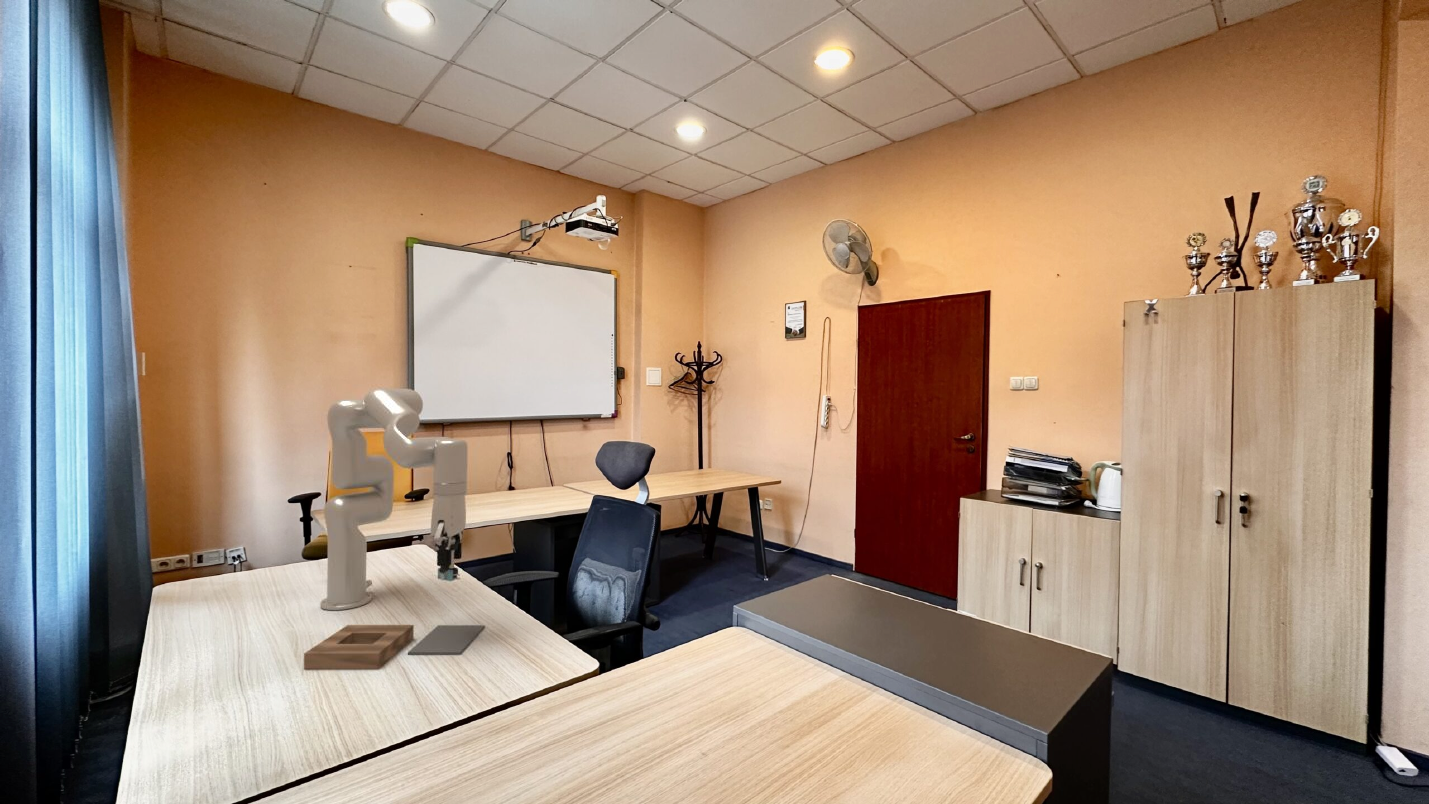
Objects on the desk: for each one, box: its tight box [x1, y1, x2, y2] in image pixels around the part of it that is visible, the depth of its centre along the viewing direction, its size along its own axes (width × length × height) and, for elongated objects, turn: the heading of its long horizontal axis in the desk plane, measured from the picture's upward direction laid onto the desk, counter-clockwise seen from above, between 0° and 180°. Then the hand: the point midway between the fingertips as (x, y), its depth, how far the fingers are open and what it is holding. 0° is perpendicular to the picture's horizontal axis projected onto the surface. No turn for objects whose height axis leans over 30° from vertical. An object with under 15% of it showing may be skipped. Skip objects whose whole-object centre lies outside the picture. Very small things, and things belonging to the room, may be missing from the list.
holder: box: [303, 624, 415, 670], centre depth 134 cm, size 16×16×4 cm
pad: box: [407, 624, 486, 656], centre depth 142 cm, size 16×12×1 cm
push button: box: [434, 537, 461, 582], centre depth 141 cm, size 7×5×10 cm
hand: (449, 561), depth 142 cm, fingers closed on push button, 5 cm apart
